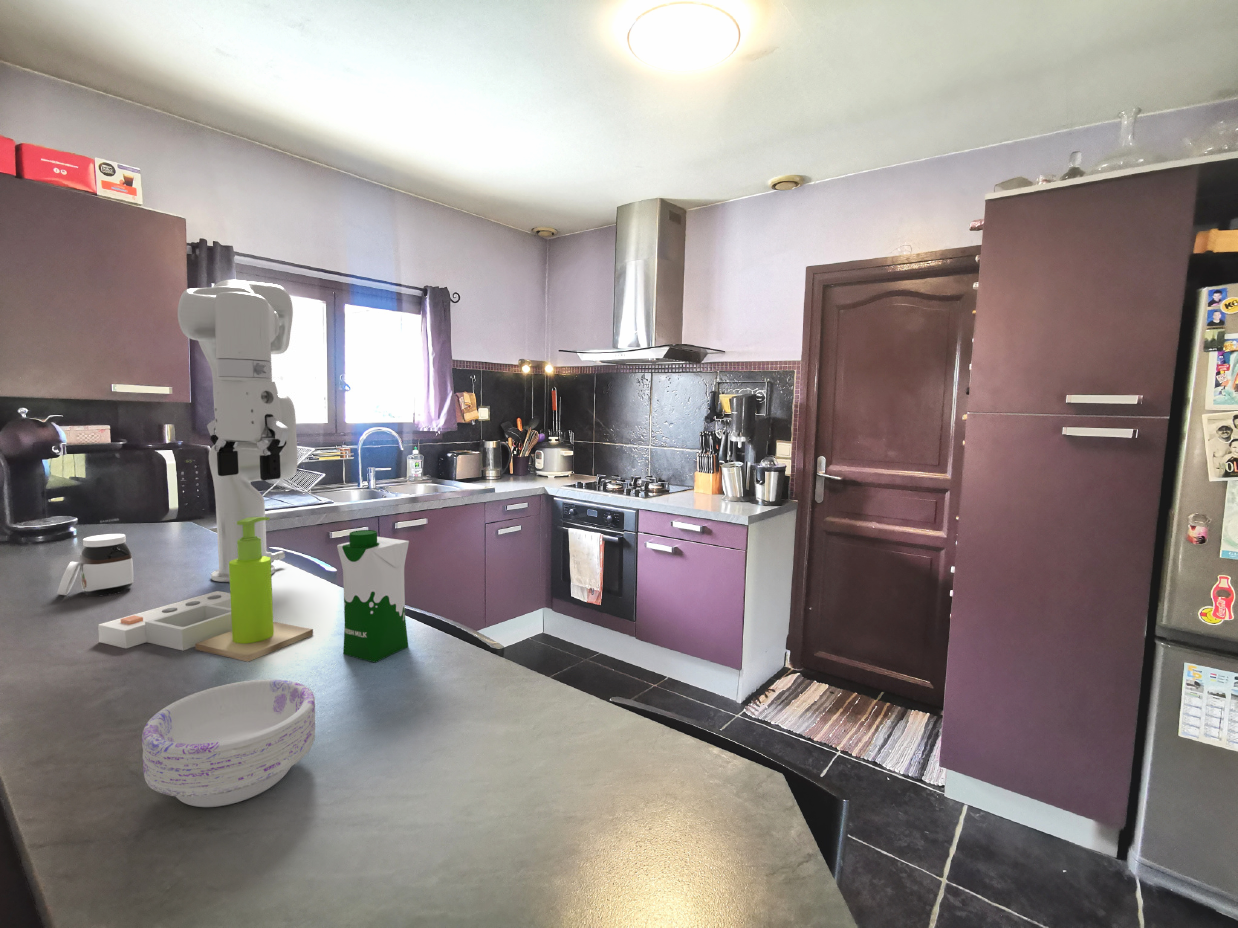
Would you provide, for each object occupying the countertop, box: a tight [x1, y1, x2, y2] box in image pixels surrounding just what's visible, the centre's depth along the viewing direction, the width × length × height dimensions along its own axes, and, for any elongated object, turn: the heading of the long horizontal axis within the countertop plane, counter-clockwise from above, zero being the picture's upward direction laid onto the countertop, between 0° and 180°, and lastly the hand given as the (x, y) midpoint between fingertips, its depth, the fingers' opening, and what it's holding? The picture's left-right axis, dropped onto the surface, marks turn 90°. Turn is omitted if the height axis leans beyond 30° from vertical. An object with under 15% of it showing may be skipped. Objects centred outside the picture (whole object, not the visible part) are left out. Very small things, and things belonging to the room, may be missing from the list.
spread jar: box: [57, 533, 134, 597], centre depth 124 cm, size 12×11×12 cm
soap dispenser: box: [229, 516, 274, 644], centre depth 99 cm, size 6×7×20 cm
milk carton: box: [337, 529, 410, 663], centre depth 96 cm, size 9×9×20 cm
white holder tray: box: [97, 590, 232, 652], centre depth 105 cm, size 20×16×4 cm
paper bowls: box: [141, 678, 316, 808], centre depth 63 cm, size 15×15×8 cm
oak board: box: [194, 621, 314, 662], centre depth 99 cm, size 12×12×1 cm
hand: (249, 477), depth 97 cm, fingers open, 9 cm apart
